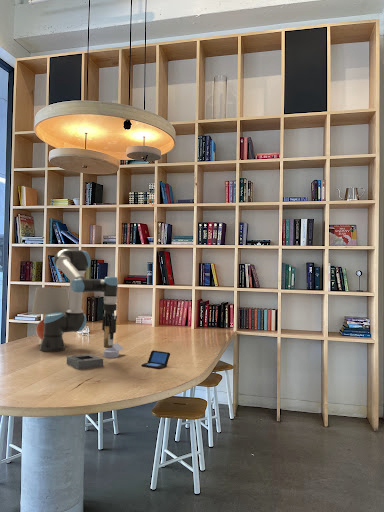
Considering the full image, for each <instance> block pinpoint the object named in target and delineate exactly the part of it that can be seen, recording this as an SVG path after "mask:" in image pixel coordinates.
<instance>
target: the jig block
mask: <svg viewBox="0 0 384 512" xmlns="http://www.w3.org/2000/svg"><path fill="white" fill-rule="evenodd" d="M66 364H67V365H69V366H70V367H72V368H75V369H76V370H85V369H93V368H100V367H101V368H102V367H104V358H102V357H100V356H98V355H96V354H95V355H94V354H92V353H87V354H85V353H84V354H77V355H76V354H75V355H67V356H66Z"/></svg>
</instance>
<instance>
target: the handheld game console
mask: <svg viewBox="0 0 384 512" xmlns="http://www.w3.org/2000/svg"><path fill="white" fill-rule="evenodd" d="M170 356H171V353H170V352H166V351H159V350H155V349H153V350H151V352H150V354H149V357H148V360H147V362H144V363H142V364H141V367H143V368H149V369H150V368H151V369H156V370H161V369H165V368H167V367H168V363H169V360H170Z"/></svg>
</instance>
